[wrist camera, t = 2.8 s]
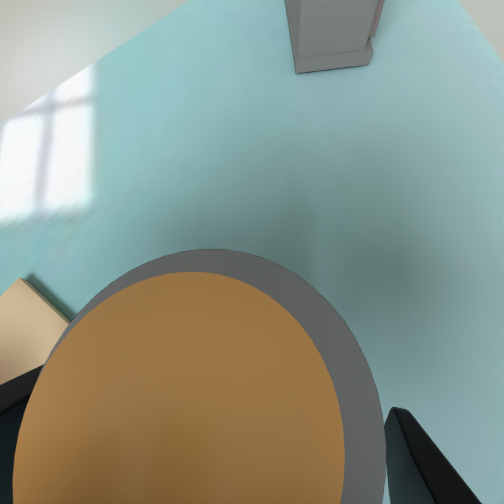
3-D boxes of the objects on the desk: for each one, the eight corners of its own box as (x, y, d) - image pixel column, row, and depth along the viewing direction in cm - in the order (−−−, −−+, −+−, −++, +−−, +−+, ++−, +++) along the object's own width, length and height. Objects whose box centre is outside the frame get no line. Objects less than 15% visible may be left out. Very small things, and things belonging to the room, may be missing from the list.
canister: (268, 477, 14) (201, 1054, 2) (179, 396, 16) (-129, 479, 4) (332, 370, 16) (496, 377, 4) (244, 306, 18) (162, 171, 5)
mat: (-27, 640, 13) (-41, 652, 13) (-139, 448, 17) (-154, 451, 16) (153, 400, 16) (149, 401, 15) (26, 280, 19) (19, 277, 19)
